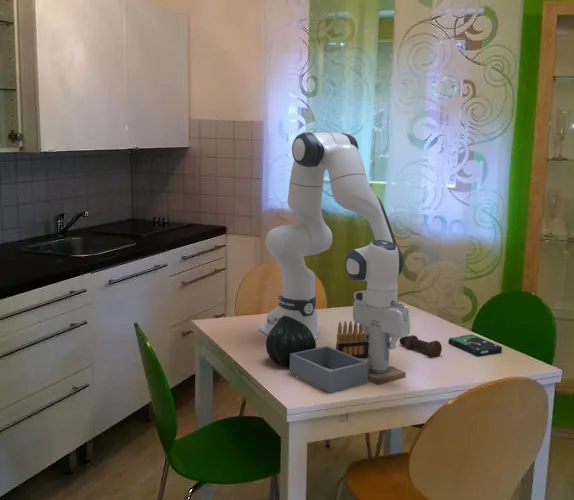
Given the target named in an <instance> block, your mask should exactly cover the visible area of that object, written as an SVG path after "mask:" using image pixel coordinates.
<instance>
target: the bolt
mask: <svg viewBox="0 0 574 500" xmlns="http://www.w3.org/2000/svg"><path fill="white" fill-rule="evenodd" d="M398 342H399V344H400V345H402V346H405V347H406V349H407V348H408V349H407V350H410V349H412V350H418V351H421V352H424V353H427V354H428V357H429V358H431V357H432V358H431V359H434V358H433V357H435V358H439V357H440V355H441V354H442V350H443V349H442V344H441V342H440V341H439V340H432V341H425V340H421V339H419V338H418V337H417V335H413V334H412V335H408V336H406V337H401V338H399V339H398Z"/></svg>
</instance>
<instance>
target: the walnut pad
mask: <svg viewBox="0 0 574 500" xmlns="http://www.w3.org/2000/svg"><path fill="white" fill-rule="evenodd" d="M406 375H407V372H406V371H404V370H401V369H399V368H397V367H394V366H392V365H389V368H388V369H387V371H386V372H383V373H375V372H372V371H370V368H369V367H368V381H369V382H370V383H373V384H376V385H377V386H378V385H381V384H384V383H389V382H393V381H396V380H400V379H403V378H404V379H405V378H406Z"/></svg>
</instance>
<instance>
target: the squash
mask: <svg viewBox="0 0 574 500" xmlns="http://www.w3.org/2000/svg"><path fill="white" fill-rule="evenodd" d="M266 336H267V337H266V341H265V348H266V353H267V354H268V357H269V358H270V360H272V362H274V363H275V364H277V365H281V366H283V367H288V366H289V367H290V354H292V353H296V352H301V351H306V350H310V349H315V348H317V344H316V343H317V341H316V339H315V338H314V336H313V334H312V332H311V331H310V330H309V328H308V327H307V326H306V325H304V324H303V323H301V322H299V321H297V320H296V319H293V318H291V317H289V316H285V315H283V316H282V317H281V318H280V319H279V320H278V322H277V323H276V325H275V326H274V327H273V328H272V330H271V331H270V332H269V334H268V335H266Z"/></svg>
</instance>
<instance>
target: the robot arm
mask: <svg viewBox="0 0 574 500" xmlns="http://www.w3.org/2000/svg"><path fill="white" fill-rule="evenodd" d="M292 142H293V143H292V145H291V155H292V157H293V162H292V167H291V172H290V177H289V184H288V185H289V186H288V194H287V195H288V196H287V206H288V207H289V209H290V210H291V211H292V212H294V213H295V215H296V223H295V224H294V223H293V224H284V225H279V226H277V227H274V228H272V229H270V230H269V231H268V232H267V235H266V238H265V247H266V249H267V251H268V253H269V254H270V255H271V256H272V257H273V258H274V259H275V260H276V262H277V264H278V266H279V268H280V271H281V279H282V280H281V282H282V283H281V284H282V288H281V289H282V290H281V291H282V294H281V295H278V296H277V300H279V302H278V305H277V306H276V307H275V308H274V309H272V310H270V311H269V312H268V313H267V315H266V321H265V323H266V324H263V325H261V326H260V327H259V331H260V332H261V333H264V335H266V336H268V334H269V332H270V331H271V330H272V328H273V327H274V326H275V325H276V323H277V322H278V320H279V319H280V318H281V317H282V316H283V315H285V316H289V317H291V318H293V319H296V320H297V321H299V322H301V323H303V324H304V325H306V326H307V327H308V328H309V330H310V331H311V332H312V334H313V336H314V338H315V340H317V339H318V338H319V334H321V333H320V331H321V330H320V329H319V327H318V325H319V324H318V323H319V322H318V313H317V310H316V307H317V305H316V304H317V296H316V293H315V292H316V274H315V272H314V271H313V270H312V269H310V268H309V267H307V265H306V261H305V257H306V256H307V257H308V256H313V255H318V254H321V253H323V252H325V251H328V250H329V249H330V248H331V247H332V243H333V232H332V230H331V228H330V227H329V226H328V224H326V222H325V220H324V218H323V214H322V200H323V199H322V197H323V188H324V178H325V172H326V170H327V173H328V178H329V184H330V190H331V194H332V197H333V199H334V201H335V202H336V204H337V205H338V206H340V207H341V208H343V209H345V210H347V211H349V212H352V213H354V214H357V215H359V216H361V217H363V218H364V219H365V220H366V221H367V222H368V223H369V226H370V229H371V230H372V235H373V236H374V239H375V240H373V241H371V242H370V243H369V244H368V245H365V246H364V247H359V248H355V249H352V250H350V251H349V252H348V254H347V255H346V258H345V261H344V263H345V264H344V267H345V268H344V269H345V271H346V275H347V276H348V277H349V278H350V279H351V280H353V281H356V282H366V289H364V290H358V291H355V292H354V293H353V299H354V301H353V304H352V319H353V322H354V323H355V322H356V323H357V324H362V329H363V333H364V334H365V340H367V341H368V342H369V326H370V323H371V322H372V320H374V321H377V322H380V323H379V324H380V326H381V330H382V332H385V333H388V334H390V342H388V343H387V345H388V346H387V348H388V349H390V350H392V351H393V350H395V349H396V344H397V342H398V341H399V339H400V338H401V337H406V336H410V333H411V323H410V322H411V320H410V313H409V312H410V311H409V309H408V307H407V306H406V305H405V304H404V303H400V302H398V295H399V294H398V293H399V285H398V277H400V275H401V274H402V272H403V270H404V267H405V258H404V255H403V253H402V251H401V249H400V247H399V245H398V244H397V241H396V239H395V235H394V232H393V230H392V227H391V224H390V221H389V219H388V215H387V213H386V209H385V207H384V205H383V202H382V200H381V198H379V196H377V195H376V194H375V192H373V190H372V187H371V186H370V183H369V181H368V178H367V174H366V173H367V172H366V169H365V165H364V162H363V159H362V156H361V154H360V152H359V144H358V141H357V139H356V138H355V137H354V136H353V135H350V134H349V133H344V132H341V133H339V132H333V131H324V132H320V131H319V132H311V131H310V132H301V133H300V134H298V135H297V136H296V137H295V138H294V140H293V141H292Z"/></svg>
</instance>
